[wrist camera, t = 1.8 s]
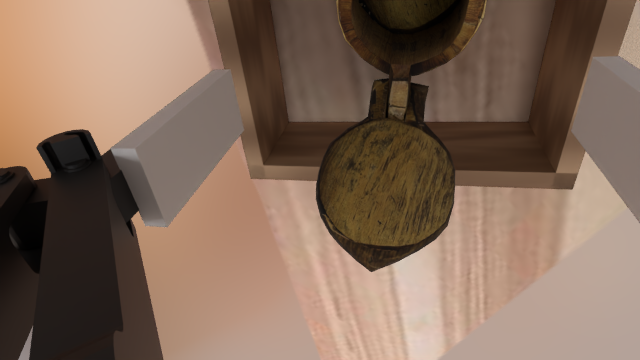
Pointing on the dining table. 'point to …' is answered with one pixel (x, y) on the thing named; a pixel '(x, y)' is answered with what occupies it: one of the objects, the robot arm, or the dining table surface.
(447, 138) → the wooden frame
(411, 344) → the dining table surface
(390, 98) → the wooden mug
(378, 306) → the dining table surface
